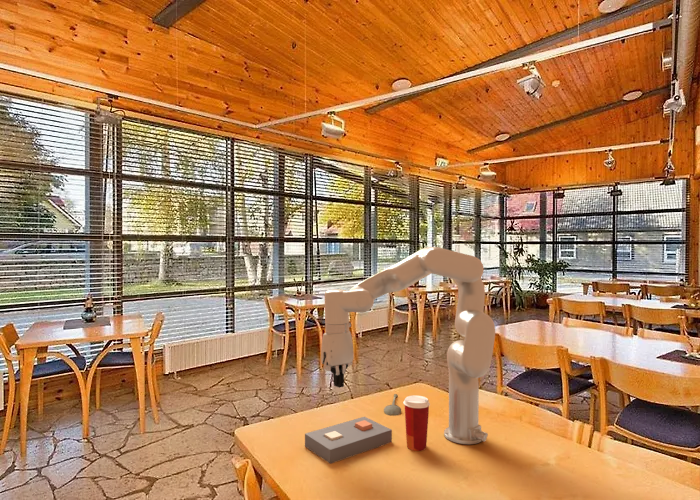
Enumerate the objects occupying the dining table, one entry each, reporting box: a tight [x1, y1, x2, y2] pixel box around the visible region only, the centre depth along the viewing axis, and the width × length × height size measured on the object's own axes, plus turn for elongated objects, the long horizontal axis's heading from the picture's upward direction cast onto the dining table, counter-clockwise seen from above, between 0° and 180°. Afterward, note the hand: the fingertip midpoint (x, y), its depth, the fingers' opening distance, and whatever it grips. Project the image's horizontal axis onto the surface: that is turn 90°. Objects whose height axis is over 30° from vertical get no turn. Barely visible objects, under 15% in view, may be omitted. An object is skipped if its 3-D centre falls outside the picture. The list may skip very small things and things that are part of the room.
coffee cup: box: [402, 395, 431, 452], centre depth 138 cm, size 8×8×15 cm
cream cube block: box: [324, 431, 342, 441], centre depth 136 cm, size 4×4×4 cm
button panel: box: [304, 416, 393, 464], centre depth 139 cm, size 14×24×4 cm, turn 127°
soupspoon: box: [383, 393, 402, 417], centre depth 175 cm, size 22×3×7 cm
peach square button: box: [355, 420, 372, 431], centre depth 143 cm, size 4×4×4 cm
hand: (338, 386), depth 139 cm, fingers closed
